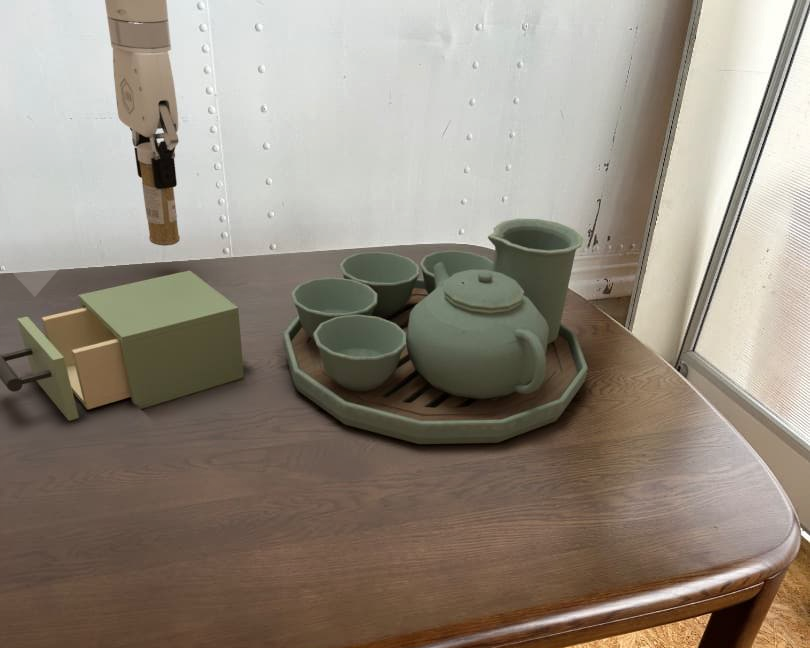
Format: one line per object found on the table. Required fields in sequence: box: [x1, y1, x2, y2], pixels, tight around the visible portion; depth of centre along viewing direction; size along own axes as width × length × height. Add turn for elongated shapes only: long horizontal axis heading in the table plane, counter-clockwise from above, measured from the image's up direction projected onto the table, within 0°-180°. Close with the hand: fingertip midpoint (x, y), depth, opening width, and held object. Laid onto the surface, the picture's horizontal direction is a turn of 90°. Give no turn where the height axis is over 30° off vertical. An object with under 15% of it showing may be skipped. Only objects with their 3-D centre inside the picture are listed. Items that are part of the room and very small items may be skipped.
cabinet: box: [78, 270, 245, 410], centre depth 98 cm, size 15×13×10 cm
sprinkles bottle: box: [136, 142, 181, 247], centre depth 115 cm, size 5×5×13 cm
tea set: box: [282, 218, 589, 445], centre depth 101 cm, size 40×40×16 cm
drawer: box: [0, 307, 131, 421], centre depth 92 cm, size 18×11×8 cm, turn 128°
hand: (157, 180), depth 114 cm, fingers closed on sprinkles bottle, 4 cm apart
